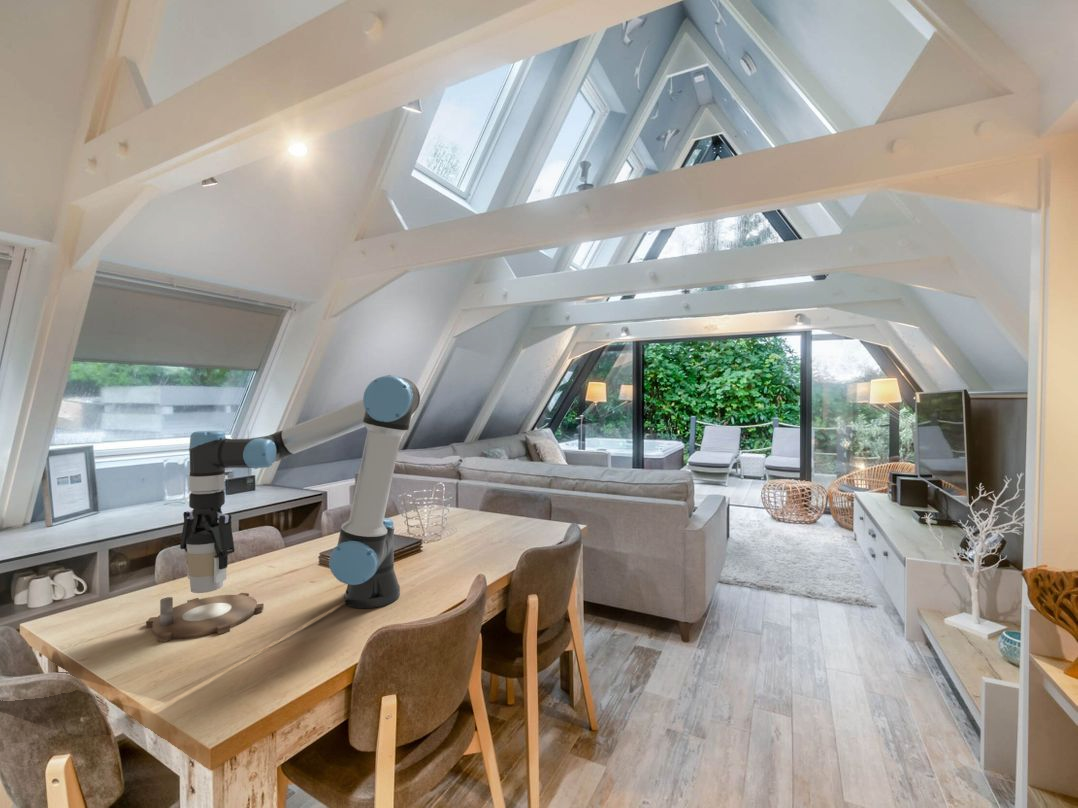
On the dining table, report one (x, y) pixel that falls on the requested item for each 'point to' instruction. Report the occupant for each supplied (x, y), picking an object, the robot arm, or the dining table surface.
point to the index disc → (202, 616)
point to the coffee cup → (201, 562)
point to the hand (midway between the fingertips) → (206, 578)
